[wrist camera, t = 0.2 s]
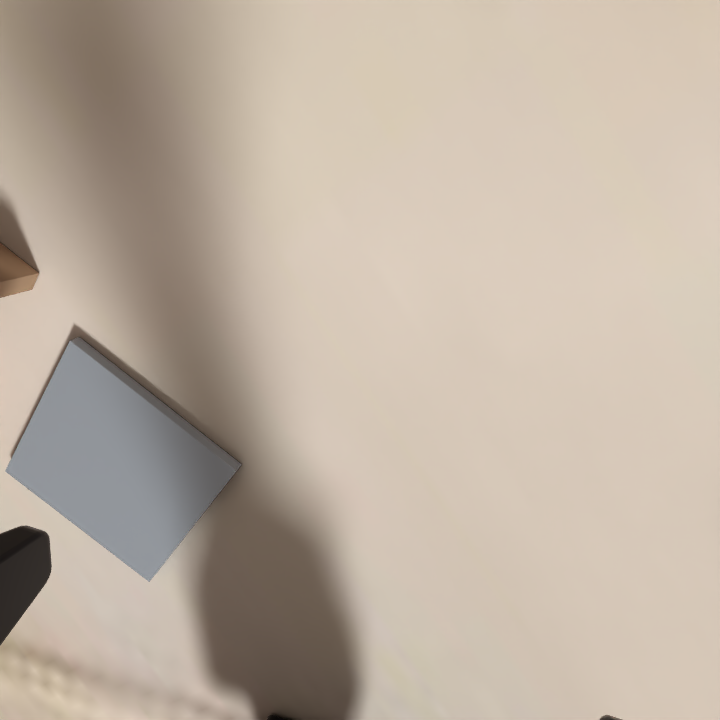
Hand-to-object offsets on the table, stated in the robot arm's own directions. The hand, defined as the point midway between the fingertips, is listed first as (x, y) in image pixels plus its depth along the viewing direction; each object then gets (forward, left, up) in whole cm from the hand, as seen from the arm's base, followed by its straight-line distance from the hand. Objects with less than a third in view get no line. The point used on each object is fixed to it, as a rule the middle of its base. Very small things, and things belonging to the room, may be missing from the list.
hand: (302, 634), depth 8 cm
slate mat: (-11, +13, -15) cm, 23 cm away
